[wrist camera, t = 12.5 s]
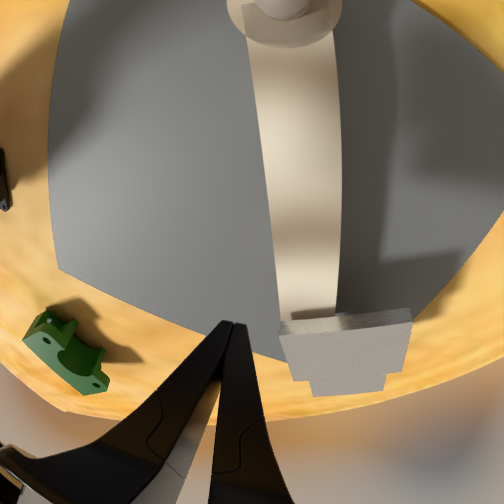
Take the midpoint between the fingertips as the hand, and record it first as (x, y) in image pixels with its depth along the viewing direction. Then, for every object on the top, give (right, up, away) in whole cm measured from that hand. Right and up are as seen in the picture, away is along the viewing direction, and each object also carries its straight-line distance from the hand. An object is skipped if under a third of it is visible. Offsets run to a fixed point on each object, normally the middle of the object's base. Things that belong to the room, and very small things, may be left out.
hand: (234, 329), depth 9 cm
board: (+1, +6, +6) cm, 9 cm away
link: (+3, +6, +4) cm, 8 cm away
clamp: (-21, -8, +22) cm, 31 cm away
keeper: (+7, -1, +10) cm, 13 cm away
